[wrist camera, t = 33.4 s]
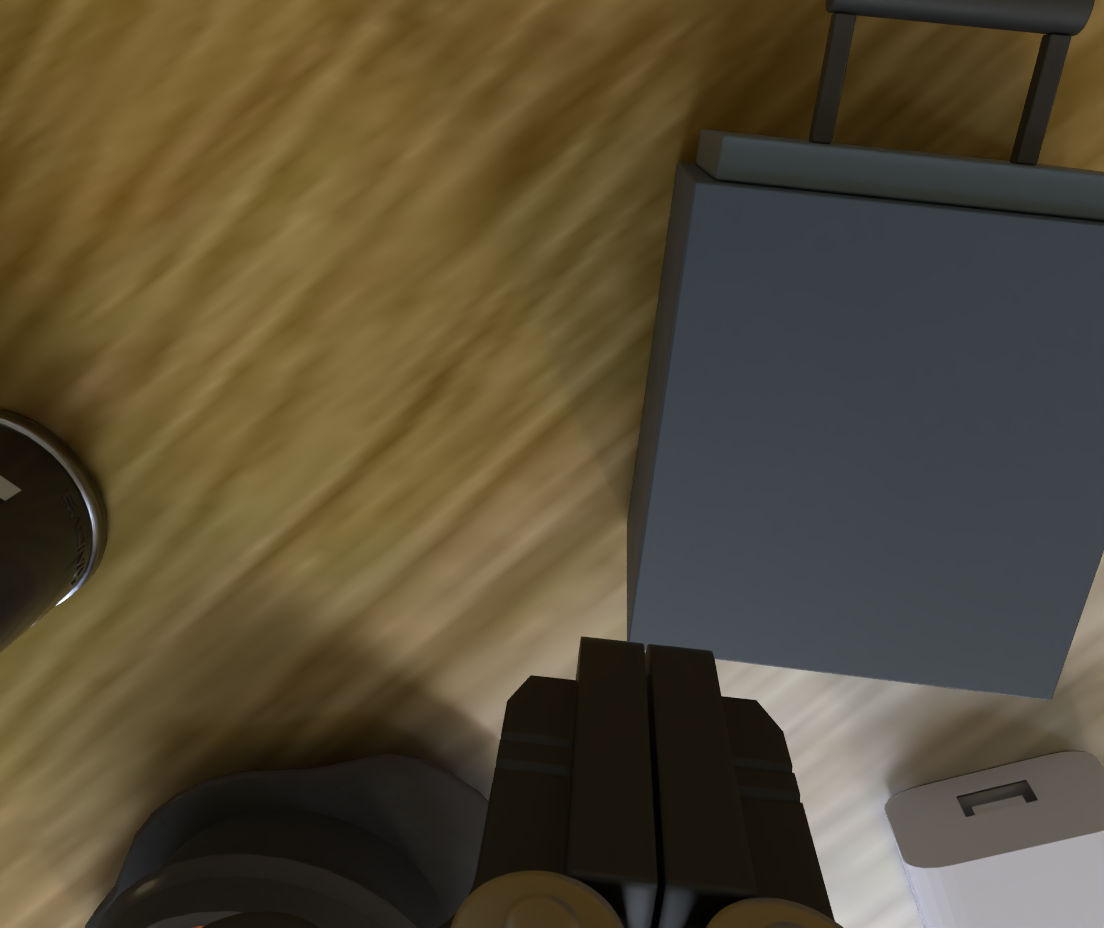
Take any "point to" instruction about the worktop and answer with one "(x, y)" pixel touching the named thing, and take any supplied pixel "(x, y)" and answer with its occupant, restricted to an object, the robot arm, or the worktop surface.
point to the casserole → (306, 849)
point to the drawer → (1015, 186)
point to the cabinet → (870, 437)
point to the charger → (1007, 845)
